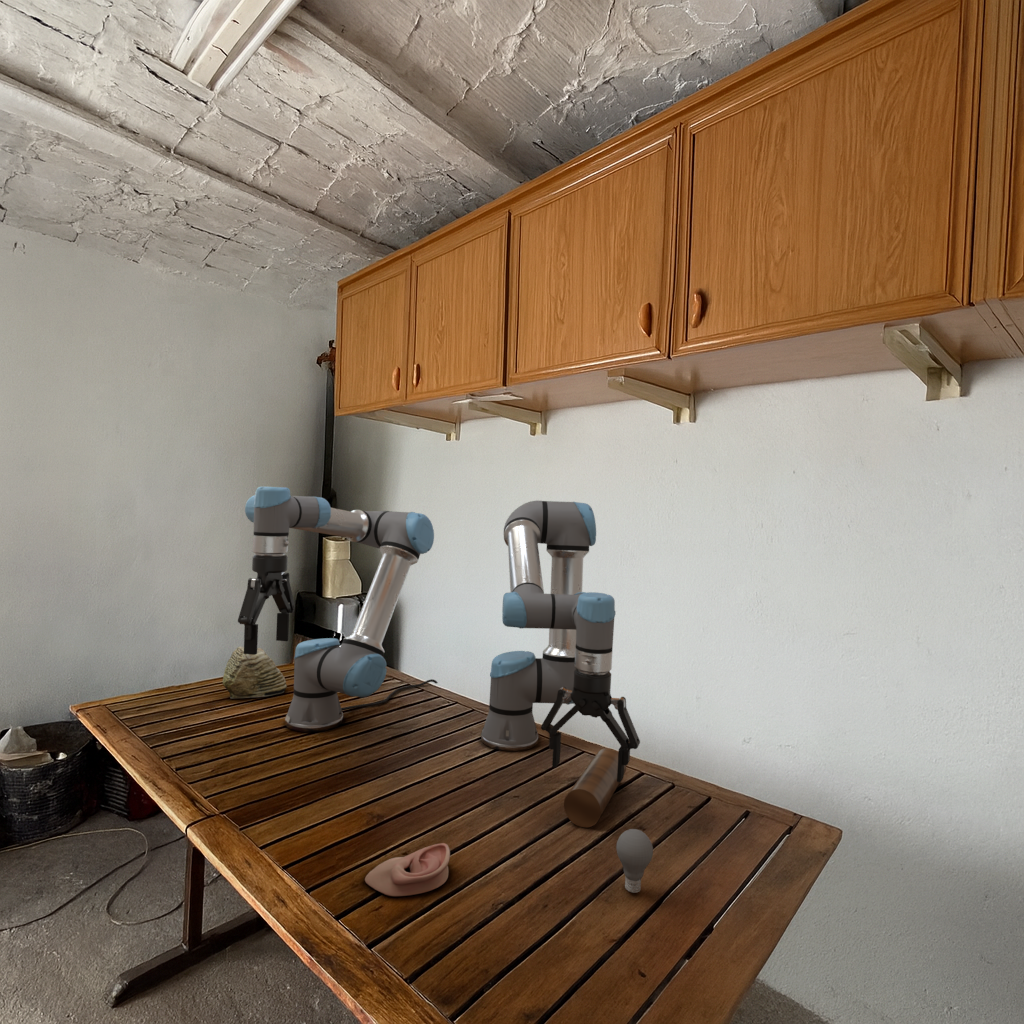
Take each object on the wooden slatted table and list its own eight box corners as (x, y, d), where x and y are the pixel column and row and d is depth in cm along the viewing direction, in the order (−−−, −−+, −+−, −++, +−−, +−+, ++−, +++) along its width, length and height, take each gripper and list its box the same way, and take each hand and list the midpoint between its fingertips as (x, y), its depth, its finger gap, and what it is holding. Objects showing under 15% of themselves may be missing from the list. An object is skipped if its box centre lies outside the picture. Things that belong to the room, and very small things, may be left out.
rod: (593, 777, 149) (595, 745, 149) (625, 784, 146) (626, 751, 146) (562, 822, 127) (564, 785, 127) (599, 831, 125) (601, 793, 124)
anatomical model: (357, 866, 102) (385, 830, 114) (356, 890, 102) (384, 852, 114) (435, 879, 100) (456, 841, 111) (434, 904, 100) (455, 864, 111)
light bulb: (610, 879, 108) (613, 822, 108) (644, 879, 109) (647, 822, 109) (619, 902, 102) (622, 840, 102) (655, 901, 103) (658, 840, 103)
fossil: (218, 695, 195) (220, 647, 195) (278, 685, 208) (279, 640, 207) (228, 703, 189) (230, 653, 188) (289, 692, 201) (290, 645, 201)
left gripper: (255, 560, 131) (251, 661, 132) (311, 551, 156) (308, 636, 156) (222, 557, 132) (218, 658, 133) (282, 549, 157) (279, 634, 158)
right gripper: (528, 665, 130) (524, 766, 131) (651, 685, 120) (644, 794, 121) (541, 656, 137) (536, 752, 138) (657, 674, 127) (652, 777, 128)
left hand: (267, 647), depth 145 cm, fingers open, 13 cm apart
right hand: (587, 772), depth 130 cm, fingers open, 13 cm apart
